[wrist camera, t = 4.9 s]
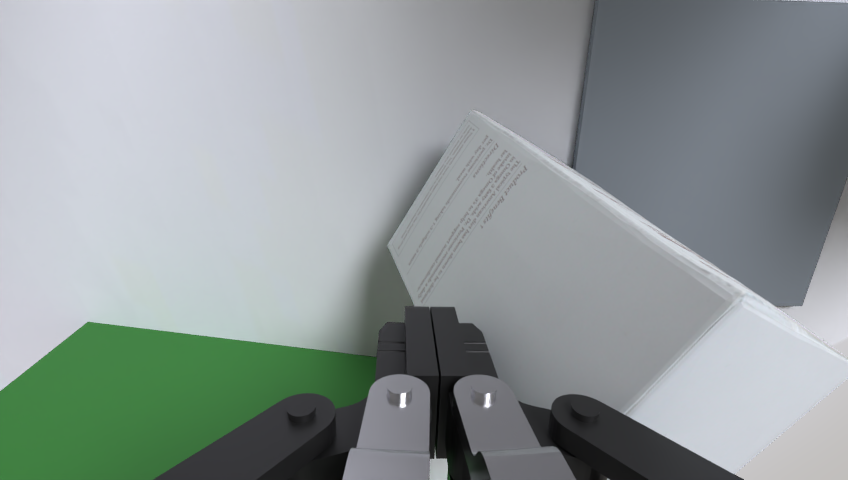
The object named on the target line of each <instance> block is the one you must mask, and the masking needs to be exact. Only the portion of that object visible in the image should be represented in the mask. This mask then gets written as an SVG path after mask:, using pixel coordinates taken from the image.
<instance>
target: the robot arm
mask: <svg viewBox="0 0 848 480" xmlns="http://www.w3.org/2000/svg"><path fill="white" fill-rule="evenodd" d="M435 450H436V458H447V462H448V477H447V480H607V478H608V479H610V480H744V479H742V478H740V477H738V476H736V475H735V474H733V473H731V472H729V471H727V470H725V469H724V468H722V467H720V466H718V465H716V464H714V463H712V462H711V461H709V460H707V459H705V458H703V457H701V456H700V455H698V454H696V453H694V452H692V451H690V450H689V449H687V448H685V447H683V446H681V445H679V444H678V443H676V442H674V441H672V440H670V439H668V438H667V437H665V436H663V435H661V434H659V433H657V432H656V431H654V430H652V429H650V428H648V427H646V426H645V425H643V424H641V423H639V422H637V421H635V420H633V419H632V418H630V417H628V416H626V415H624V414H622V413H621V412H619V411H617V410H615V409H613V408H611V407H610V406H608V405H606V404H604V403H602V402H600V401H598V400H596V399H594V398H591V397H588V396H585V395H579V394H567V395H562V396H560V397H558V398H556V399H555V400H554V401H553V403H552V406H551V410H550V409H545V408H541V407H536V406H532V405H528V404H525V403H522V402H520V401H518V400H517V399H516V397H515V395H514V393H513V391H512V389H511V388H510V387H509V386H508V385H507V384H506V383H505V382H503V381H502V380H500V379H499V378H498V375H497V372H496V370H495V367H494V364H493V361H492V358H491V355H490V353H489V350H488V347H487V344H486V341H485V338H484V336H483V333H482V331H481V330H479V329H478V328H477V327H476V326H475V325H474V324H473V323H459V321H458V318H457V314H456V310H455V307H430V309H429V307H423V306H405V320H404V323H399V322H387V323H386V324H385V325H384V326H383V328H382V329H381V330H380V331H379V339H378V352H377V362H376V373H375V383H374V384H373V385H372V386H371V388H370V390H369V394H368V396H367V397H366V398H364V399H363V400H361V401H360V402H358V403H355V404H353V405H349V406H346V407H341V408H337V409H335V406H334V404H333V402H332V401H331V400H330V399H328V398H327V397H325V396H323V395H319V394H314V393H303V394H296V395H293V396H290V397H287V398H285V399H283V400H281V401H279V402H278V403H276V404H275V405H273V406H271V407H270V408H268V409H266V410H265V411H263V412H262V413H260V414H258V415H257V416H255V417H253V418H252V419H250V420H249V421H247V422H245V423H244V424H242V425H241V426H239V427H237V428H236V429H234V430H232V431H231V432H229V433H228V434H226V435H224V436H223V437H221V438H219V439H218V440H216V441H215V442H213V443H211V444H210V445H208V446H206V447H205V448H203V449H202V450H200V451H198V452H197V453H195V454H193V455H192V456H190V457H189V458H187V459H185V460H184V461H182V462H180V463H179V464H177V465H176V466H174V467H172V468H171V469H169V470H168V471H166V472H164V473H163V474H161V475H159V476H158V477H156V478H155V479H153V480H430V459H434V453H435Z"/></svg>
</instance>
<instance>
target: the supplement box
mask: <svg viewBox="0 0 848 480" xmlns="http://www.w3.org/2000/svg"><path fill="white" fill-rule="evenodd" d="M387 247H388V249H389V251H390V253H391V255H392V258H393V260H394V262H395V264H396V267H397V269H398V271H399V273H400V275H401V278H402V280H403V282H404V284H405V286H406V289H407V291H408V293H409V295H410V298H411V300H412V302H413V304H414V306H423V307H429V309H430V307H455V310H456V314H457V318H458V321H459V323H473V324H474V325H475V326H476V327H477V328H478V329H479V330H481V331H482V333H483V336H484V338H485V341H486V344H487V347H488V350H489V353H490V355H491V358H492V361H493V364H494V367H495V370H496V372H497V375H498V378H499V379H500V380H502V381H503V382H505V383H506V384H507V385H508V386H509V387H510V388H511V389H512V391H513V393H514V395H515V397H516V399H517V400H518V401H520V402H522V403H525V404H528V405H532V406H536V407H541V408H545V409H550V410H551V406H552V403H553V401H554V400H555V399H556V398H558V397H560V396H562V395H567V394H579V395H585V396H588V397H591V398H594V399H596V400H598V401H600V402H602V403H604V404H606V405H608V406H610V407H611V408H613V409H615V410H617V411H619V412H621V413H622V414H624V415H626V416H628V417H630V418H632V419H633V420H635V421H637V422H639V423H641V424H643V425H645V426H646V427H648V428H650V429H652V430H654V431H656V432H657V433H659V434H661V435H663V436H665V437H667V438H668V439H670V440H672V441H674V442H676V443H678V444H679V445H681V446H683V447H685V448H687V449H689V450H690V451H692V452H694V453H696V454H698V455H700V456H701V457H703V458H705V459H707V460H709V461H711V462H712V463H714V464H716V465H718V466H720V467H722V468H724V469H725V470H727V471H729V472H731V473H733V474H735V473H736V472H737V471H739V470H740V469H741V468H742V467H743V466H745V465H746V464H747V463H748V462H749V461H750V460H752V459H753V458H754V457H755V456H757V455H758V454H759V453H760V452H761V451H762V450H764V449H765V448H766V447H767V446H768V445H770V443H772V442H773V441H774V440H775V439H777V438H778V437H779V436H780V435H781V434H782V433H784V432H785V431H786V430H787V429H788V428H789V427H791V426H792V425H793V424H794V423H795V422H797V421H798V420H799V419H800V418H801V417H803V416H804V415H805V414H806V413H807V412H809V411H810V410H811V409H812V408H813V407H814V406H816V405H817V404H818V403H819V402H820V401H821V400H823V399H824V398H825V397H826V396H827V395H829V394H830V393H831V392H832V391H833V390H834V389H836V388H837V387H838V386H839V385H841V384H842V383H843V382H844V381H845V380H847V379H848V357H846V356H845V355H844V354H842V353H841V352H839V351H838V350H837V349H835V348H834V347H832V346H831V345H829V344H828V343H827V342H825V341H824V340H822V339H821V338H820V337H818V336H817V335H815V334H814V333H813V332H811V331H810V330H808V329H807V328H805V327H804V326H803V325H801V324H800V323H798V322H797V321H796V320H794V319H793V318H791V317H790V316H789V315H787V314H786V313H784V312H783V311H781V310H780V309H778V308H777V307H775V306H774V305H773V304H771V303H770V302H768V301H767V300H765V299H764V298H762V297H761V296H759V295H758V294H756V293H755V292H753V291H752V290H750V289H749V288H747V287H746V286H744V285H743V284H742V283H740V282H739V281H737V280H736V279H734V278H732V277H731V276H729V275H728V274H726V273H725V272H723V271H722V270H720V269H719V268H717V267H716V266H715V265H713V264H712V263H710V262H709V261H707V260H706V259H704V258H702V257H701V256H699V255H698V254H696V253H695V252H693V251H692V250H690V249H689V248H687V247H686V246H684V245H683V244H681V243H680V242H678V241H677V240H675V239H674V238H672V237H671V236H669V235H668V234H666V233H665V232H663V231H662V230H661V229H659V228H658V227H656V226H655V225H653V224H652V223H650V222H649V221H648V220H646V219H645V218H643V217H642V216H641V215H639V214H638V213H636V212H635V211H633V210H632V209H631V208H629V207H628V206H626V205H625V204H624V203H622V202H621V201H619V200H618V199H617V198H615V197H614V196H612V195H611V194H610V193H608V192H607V191H605V190H604V189H602V188H601V187H600V186H598V185H597V184H595V183H594V182H592V181H591V180H589V179H588V178H586V177H584V176H583V175H581V174H580V173H578V172H577V171H575V170H574V169H572V168H571V167H569V166H567V165H566V164H564V163H563V162H561V161H560V160H558V159H556V158H555V157H553V156H552V155H550V154H548V153H547V152H545V151H544V150H542V149H541V148H539V147H537V146H536V145H534V144H533V143H531V142H529V141H527V140H526V139H524V138H522V137H521V136H519V135H518V134H516V133H514V132H513V131H511V130H509V129H508V128H506V127H504V126H503V125H501V124H499V123H498V122H496V121H494V120H493V119H491V118H489V117H488V116H486V115H484V114H482V113H480V112H478V111H476V110H474V109H473V110H471V111H470V112H469V114H468V115H467V117H466V119H465V120H464V122H463V124H462V125H461V127H460V128H459V130H458V131H457V133H456V135H455V136H454V138H453V139H452V141H451V143H450V144H449V146H448V148H447V149H446V151H445V152H444V154H443V156H442V157H441V159H440V161H439V162H438V164H437V165H436V167H435V169H434V170H433V172H432V173H431V175H430V177H429V178H428V180H427V182H426V183H425V185H424V186H423V188H422V190H421V191H420V193H419V195H418V196H417V198H416V199H415V201H414V203H413V204H412V206H411V207H410V209H409V211H408V212H407V214H406V216H405V217H404V219H403V220H402V222H401V224H400V225H399V227H398V228H397V230H396V232H395V233H394V235H393V237H392V238H391V240H390V241H389V243H388V245H387ZM607 480H610V479H608V478H607Z"/></svg>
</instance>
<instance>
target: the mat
mask: <svg viewBox="0 0 848 480" xmlns="http://www.w3.org/2000/svg"><path fill="white" fill-rule="evenodd" d="M572 169H574V170H575V171H577V172H578V173H580V174H581V175H583V176H584V177H586V178H588V179H589V180H591V181H592V182H594V183H595V184H597V185H598V186H600V187H601V188H602V189H604V190H605V191H607V192H608V193H610V194H611V195H612V196H614V197H615V198H617V199H618V200H619V201H621V202H622V203H624V204H625V205H626V206H628V207H629V208H631V209H632V210H633V211H635V212H636V213H638V214H639V215H641V216H642V217H643V218H645V219H646V220H648V221H649V222H650V223H652V224H653V225H655V226H656V227H658V228H659V229H661V230H662V231H663V232H665V233H666V234H668V235H669V236H671V237H672V238H674V239H675V240H677V241H678V242H680V243H681V244H683V245H684V246H686V247H687V248H689V249H690V250H692V251H693V252H695V253H696V254H698V255H699V256H701V257H702V258H704V259H706V260H707V261H709V262H710V263H712V264H713V265H715V266H716V267H717V268H719V269H720V270H722V271H723V272H725V273H726V274H728V275H729V276H731V277H732V278H734V279H736V280H737V281H739V282H740V283H742V284H743V285H744V286H746V287H747V288H749V289H750V290H752V291H753V292H755V293H756V294H758V295H759V296H761V297H762V298H764V299H765V300H767V301H768V302H770V303H771V304H773V305H774V306H802V305H803V302H804V299H805V296H806V293H807V290H808V288H809V285H810V282H811V279H812V276H813V273H814V271H815V268H816V265H817V262H818V259H819V256H820V254H821V251H822V248H823V245H824V242H825V239H826V237H827V234H828V231H829V228H830V225H831V222H832V220H833V217H834V214H835V211H836V208H837V205H838V203H839V200H840V197H841V194H842V191H843V188H844V186H845V183H846V180H847V177H848V3H836V2H807V1H779V0H595V7H594V14H593V21H592V29H591V36H590V43H589V51H588V58H587V65H586V72H585V80H584V87H583V94H582V102H581V109H580V116H579V123H578V131H577V138H576V145H575V153H574V160H573V167H572Z"/></svg>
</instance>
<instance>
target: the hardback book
mask: <svg viewBox="0 0 848 480" xmlns="http://www.w3.org/2000/svg"><path fill="white" fill-rule="evenodd" d="M376 362H377V357H371V356H363V355H354V354H346V353H338V352H330V351H322V350H314V349H305V348H297V347H289V346H281V345H273V344H265V343H256V342H248V341H240V340H232V339H224V338H215V337H207V336H199V335H191V334H183V333H174V332H166V331H158V330H150V329H142V328H134V327H125V326H117V325H109V324H101V323H93V322H87V323H86V324H85V325H83V326H82V327H81V328H80V329H78V330H77V331H76V332H75V333H73V334H72V335H71V336H70V337H68V338H67V339H66V340H64V341H63V342H62V343H61V344H59V345H58V346H57V347H56V348H54V349H53V350H52V351H51V352H49V353H48V354H47V355H46V356H44V357H43V358H42V359H40V360H39V361H38V362H37V363H35V364H34V365H33V366H32V367H30V368H29V369H28V370H27V371H25V372H24V373H23V374H22V375H20V376H19V377H18V378H16V379H15V380H14V381H13V382H11V383H10V384H9V385H8V386H6V387H5V388H4V389H3V390H1V391H0V480H153V479H155V478H156V477H158V476H159V475H161V474H163V473H164V472H166V471H168V470H169V469H171V468H172V467H174V466H176V465H177V464H179V463H180V462H182V461H184V460H185V459H187V458H189V457H190V456H192V455H193V454H195V453H197V452H198V451H200V450H202V449H203V448H205V447H206V446H208V445H210V444H211V443H213V442H215V441H216V440H218V439H219V438H221V437H223V436H224V435H226V434H228V433H229V432H231V431H232V430H234V429H236V428H237V427H239V426H241V425H242V424H244V423H245V422H247V421H249V420H250V419H252V418H253V417H255V416H257V415H258V414H260V413H262V412H263V411H265V410H266V409H268V408H270V407H271V406H273V405H275V404H276V403H278V402H279V401H281V400H283V399H285V398H287V397H290V396H293V395H296V394H303V393H314V394H319V395H323V396H325V397H327V398H328V399H330V400H331V401H332V402H333V404H334V406H335V409H337V408H341V407H346V406H349V405H353V404H355V403H358V402H360V401H361V400H363V399H364V398H366V397H367V396H368V394H369V390H370V388H371V386H372V385H373V384H374V383H375V373H376Z"/></svg>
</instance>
